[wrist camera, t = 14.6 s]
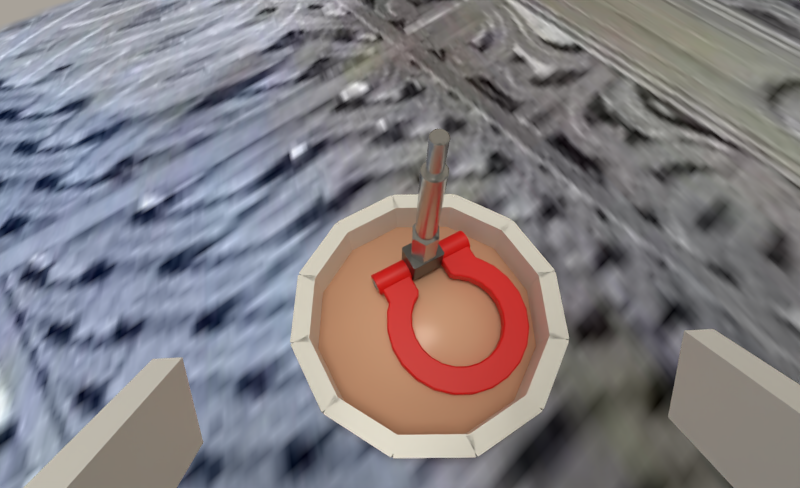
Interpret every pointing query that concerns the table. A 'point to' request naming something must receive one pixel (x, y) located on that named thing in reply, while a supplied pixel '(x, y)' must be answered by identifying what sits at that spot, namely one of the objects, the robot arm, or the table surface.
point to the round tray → (423, 332)
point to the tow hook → (458, 265)
